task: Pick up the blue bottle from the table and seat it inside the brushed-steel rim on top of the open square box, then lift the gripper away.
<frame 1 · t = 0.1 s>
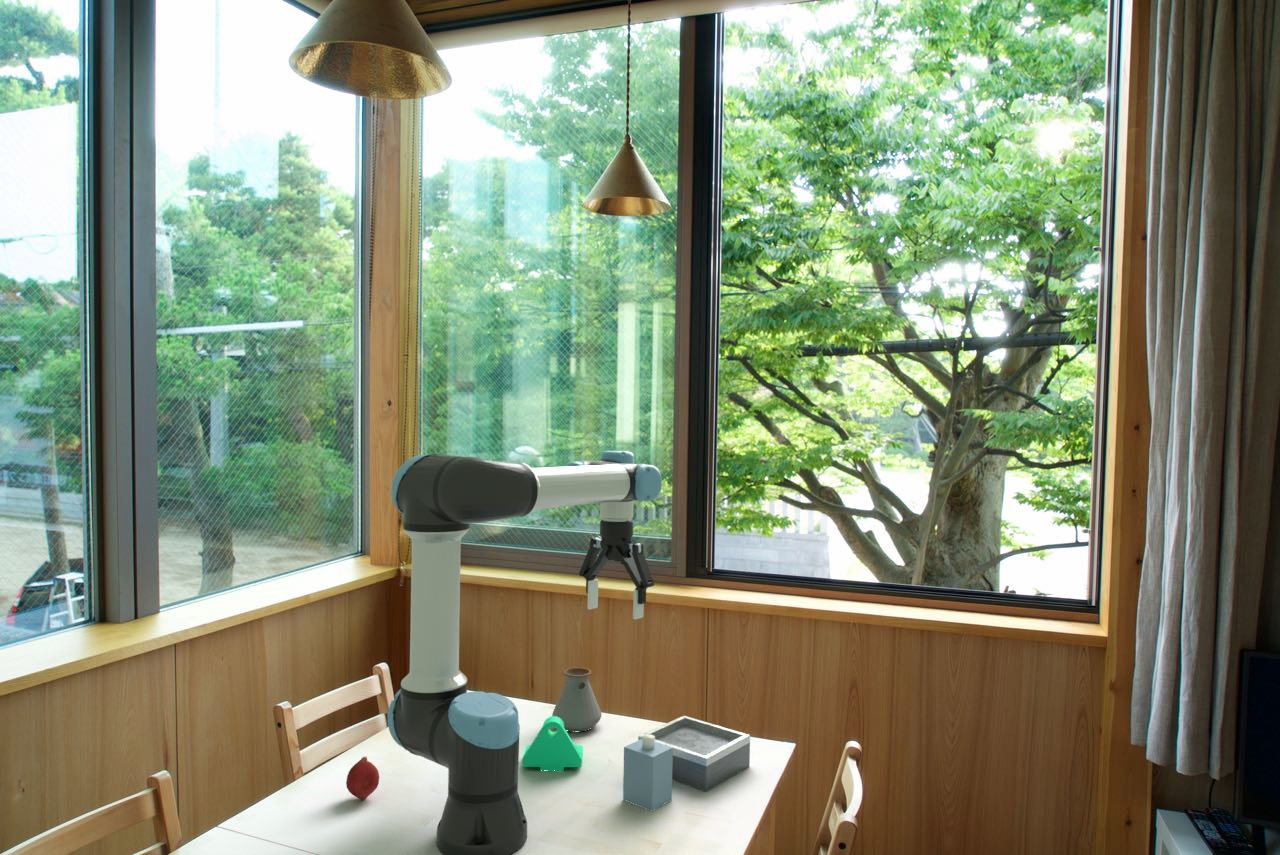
hand: (614, 613, 187), 28 cm above the table, tool pointing down, fingers open, 13 cm apart
onion: (362, 800, 154), on the table
blue bottle: (647, 800, 156), on the table
open square box: (693, 766, 172), on the table
camera mount: (553, 765, 172), on the table
coffee pot: (578, 735, 188), on the table
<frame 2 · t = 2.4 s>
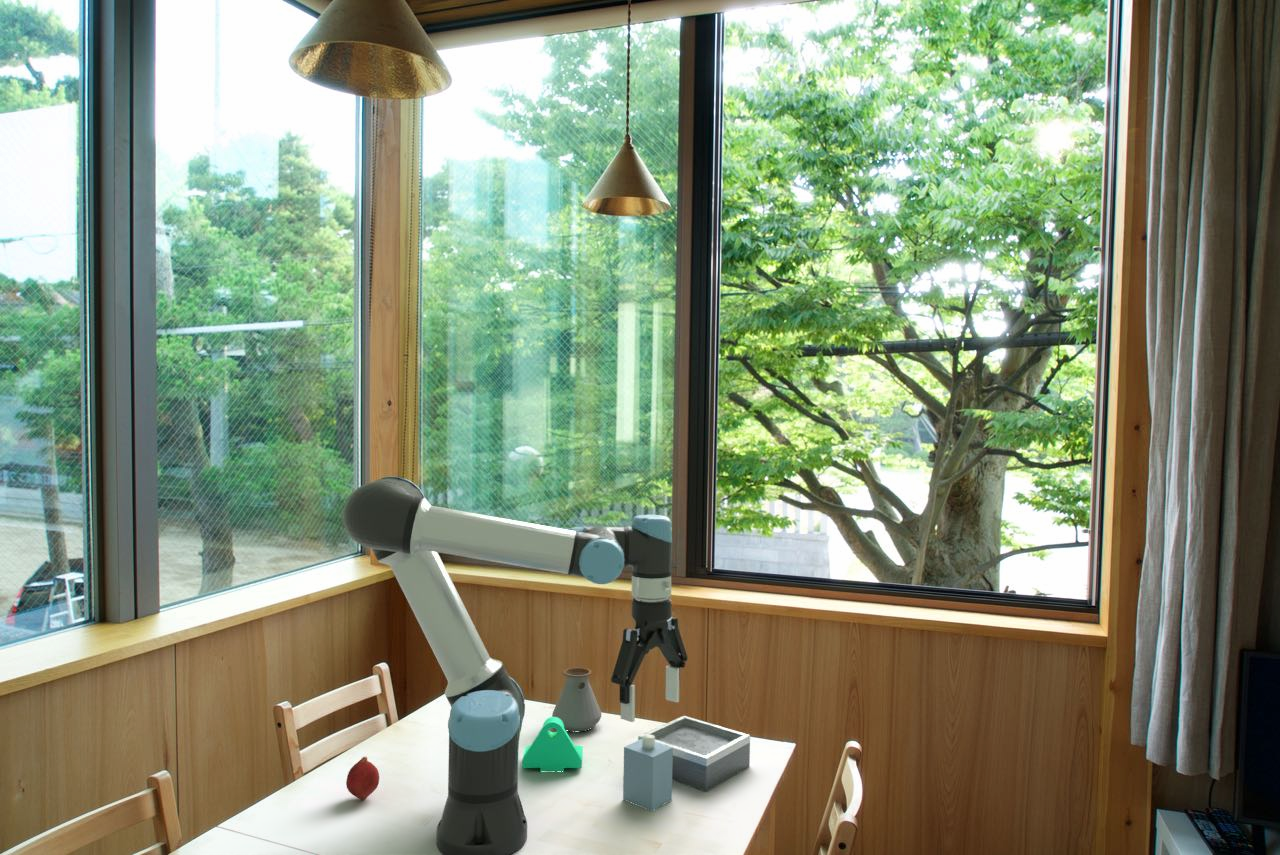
hand: (650, 710, 156), 17 cm above the table, tool pointing down, fingers open, 13 cm apart
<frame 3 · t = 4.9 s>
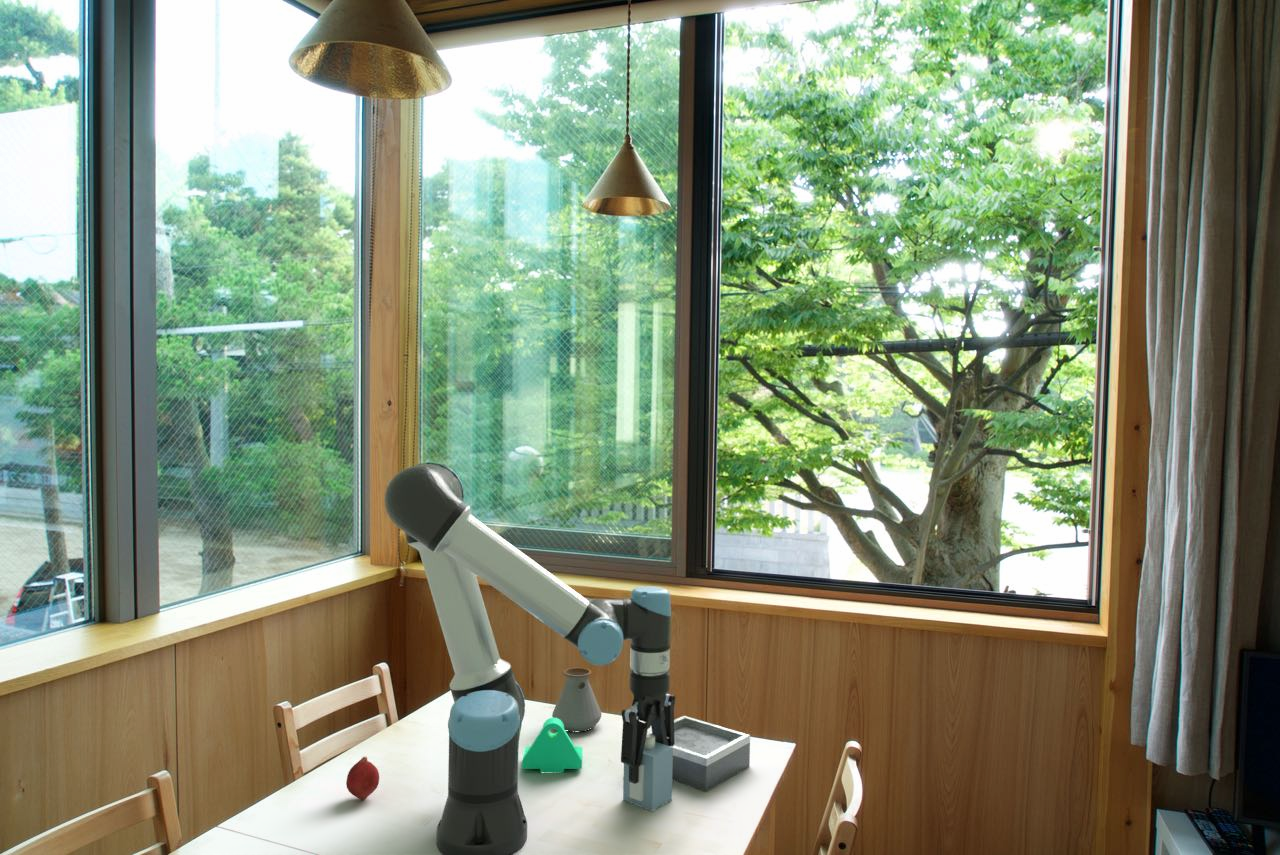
hand: (647, 792, 156), 1 cm above the table, tool pointing down, fingers closed on blue bottle, 6 cm apart
blue bottle: (647, 799, 156), on the table, touching gripper
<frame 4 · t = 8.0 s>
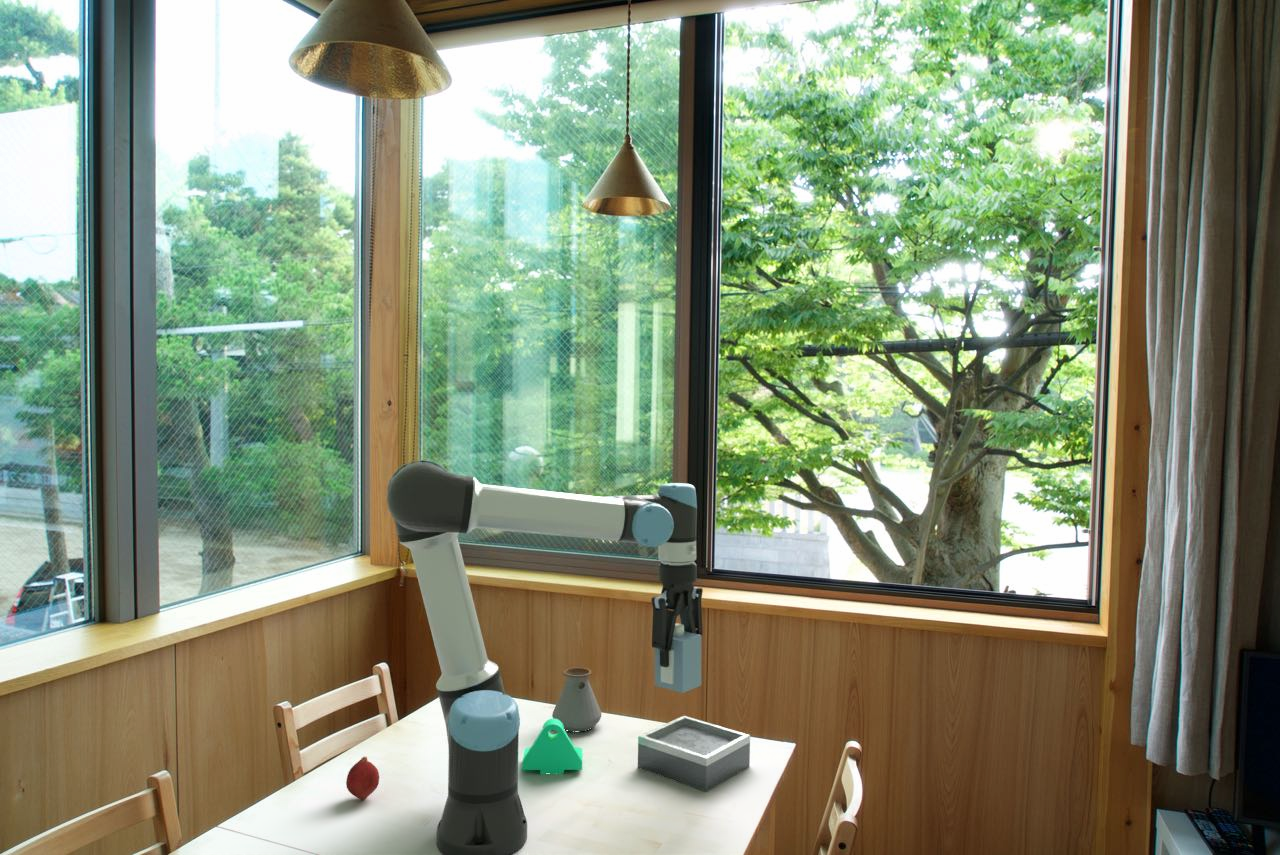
hand: (677, 678, 164), 21 cm above the table, tool pointing down, fingers closed on blue bottle, 6 cm apart
blue bottle: (678, 685, 164), point 19 cm above the table, touching gripper
when the fingers open (8 cm above the table, at t = 11.6 s): blue bottle drops 1 cm, resting on open square box.
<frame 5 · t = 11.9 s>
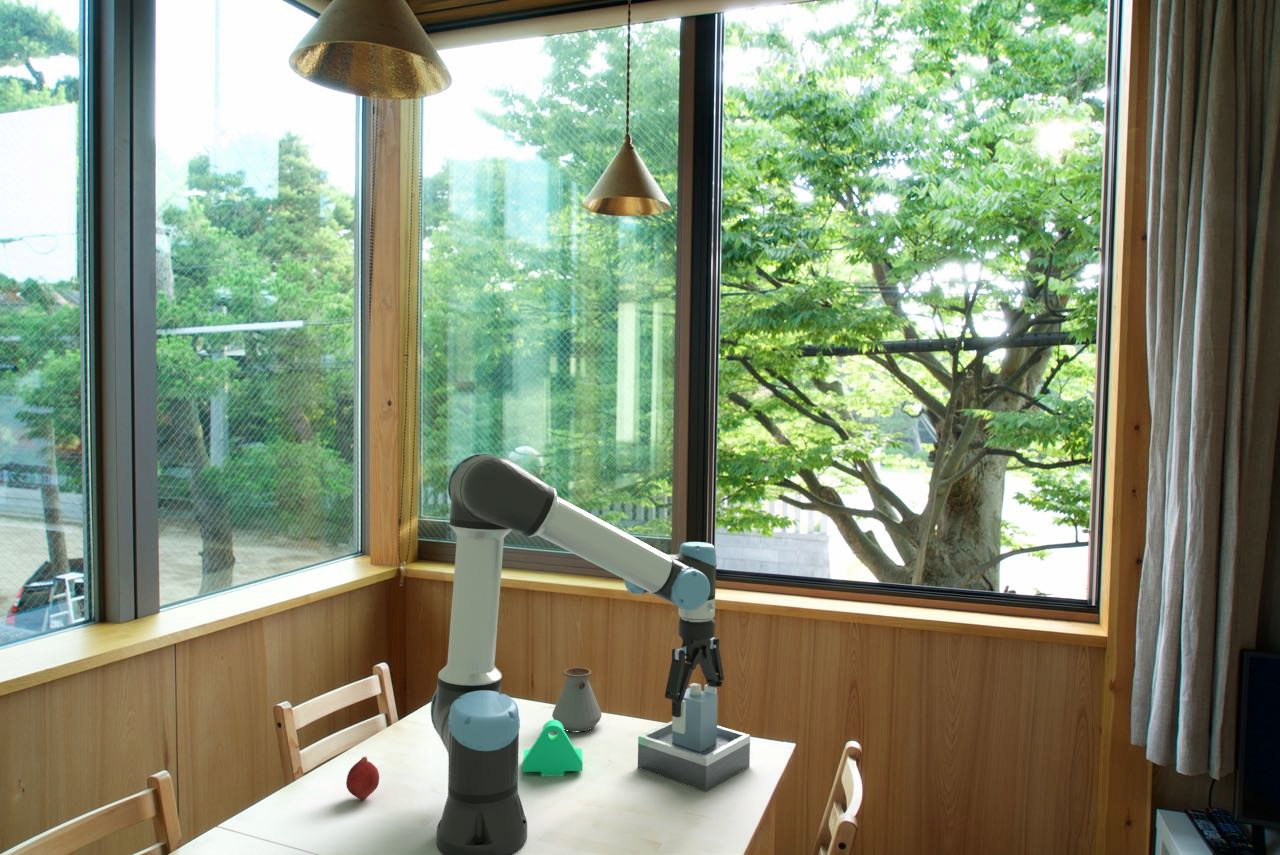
hand: (694, 724, 171), 9 cm above the table, tool pointing down, fingers open, 10 cm apart
blue bottle: (694, 742, 171), point 5 cm above the table, touching open square box
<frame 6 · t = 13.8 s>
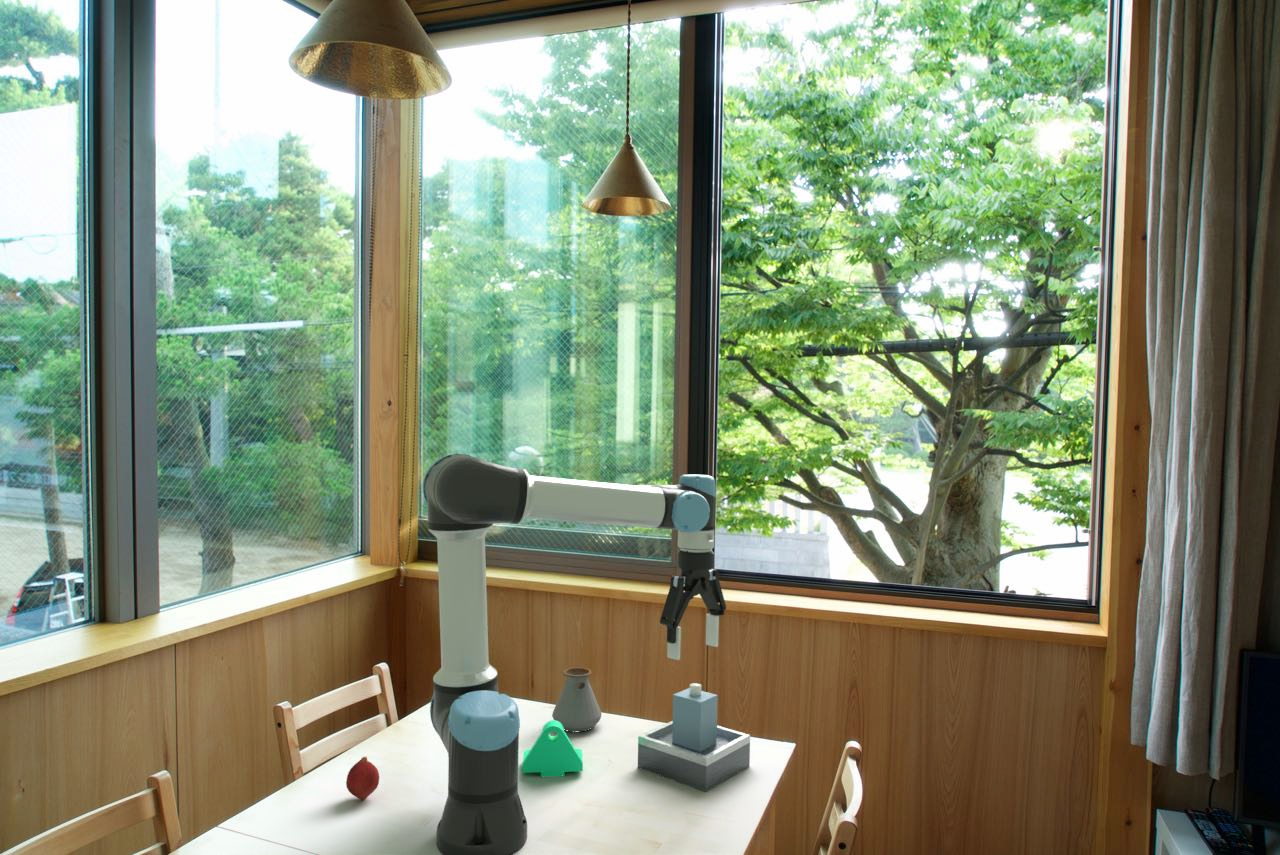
hand: (693, 652, 171), 24 cm above the table, tool pointing down, fingers open, 13 cm apart
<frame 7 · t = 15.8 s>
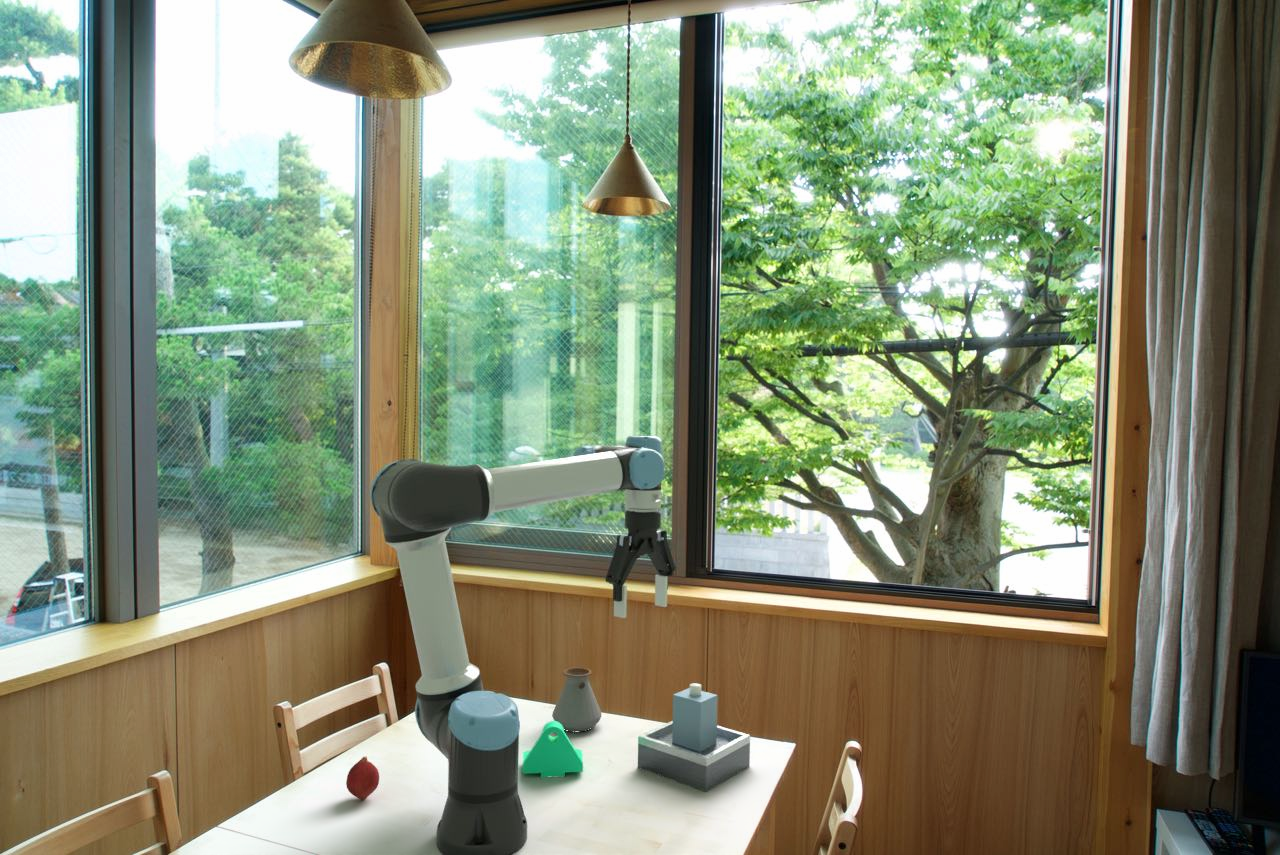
hand: (641, 611, 173), 32 cm above the table, tool pointing down, fingers open, 13 cm apart
at the end: blue bottle 0.0 cm from the open square box (horizontally); blue bottle touching open square box; blue bottle tilted 0° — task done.
